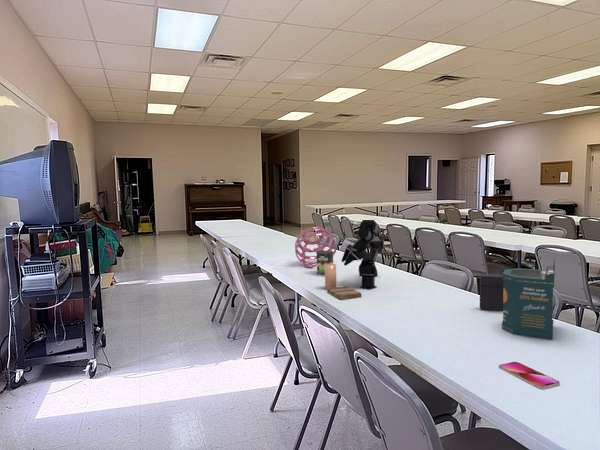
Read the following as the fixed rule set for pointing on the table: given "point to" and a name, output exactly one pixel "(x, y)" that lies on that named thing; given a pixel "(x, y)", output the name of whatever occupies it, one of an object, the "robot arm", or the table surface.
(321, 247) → the pink openwork sphere
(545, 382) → the smartphone
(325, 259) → the coffee can
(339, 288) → the shelf board
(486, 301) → the dark grey block
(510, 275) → the donation box
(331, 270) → the peach cylinder
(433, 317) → the table surface
